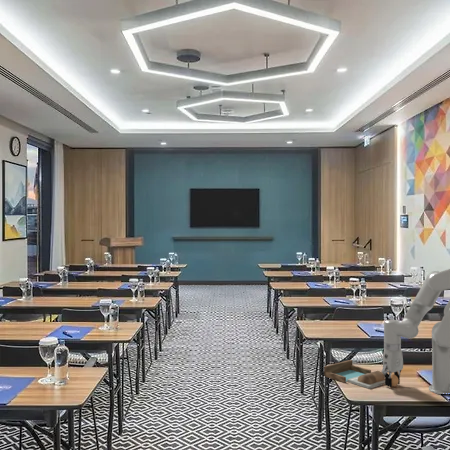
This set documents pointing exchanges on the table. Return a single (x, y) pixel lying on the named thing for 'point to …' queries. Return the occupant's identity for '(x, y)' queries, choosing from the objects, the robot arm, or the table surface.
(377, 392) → the table surface
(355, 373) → the mat
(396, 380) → the ball
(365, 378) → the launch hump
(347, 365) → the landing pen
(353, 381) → the grey base plate
